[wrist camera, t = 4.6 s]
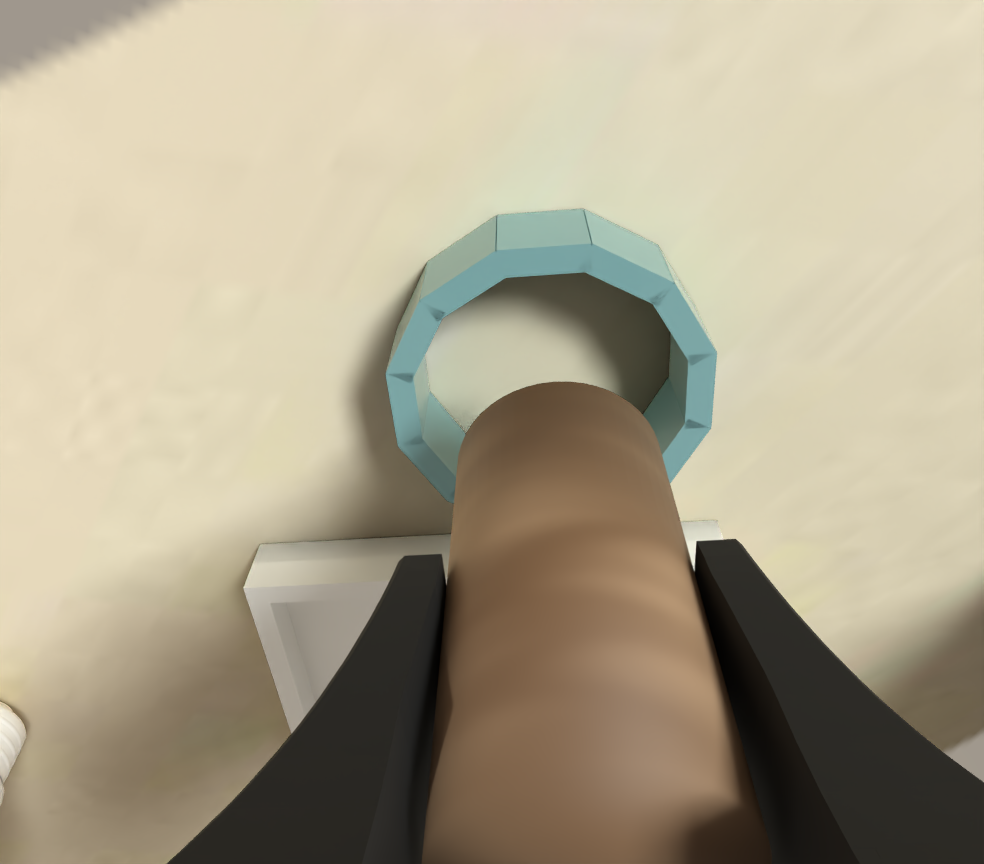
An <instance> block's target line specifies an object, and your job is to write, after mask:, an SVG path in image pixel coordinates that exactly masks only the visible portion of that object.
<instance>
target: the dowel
mask: <svg viewBox="0 0 984 864" xmlns="http://www.w3.org/2000/svg"><path fill="white" fill-rule="evenodd" d="M771 863H772V854H771V848H770V843H769V839H768V836H767V832H766V828H765V825H764V821H763V818H762V814H761V810H760V807H759V803H758V799H757V796H756V792H755V789H754V785H753V781H752V778H751V774H750V771H749V767H748V763H747V760H746V756H745V753H744V749H743V745H742V742H741V738H740V735H739V731H738V727H737V724H736V720H735V717H734V713H733V709H732V706H731V702H730V699H729V695H728V691H727V688H726V684H725V680H724V677H723V673H722V670H721V666H720V662H719V659H718V655H717V652H716V648H715V644H714V641H713V637H712V634H711V630H710V626H709V623H708V619H707V616H706V612H705V608H704V605H703V601H702V598H701V594H700V590H699V587H698V583H697V580H696V576H695V572H694V569H693V565H692V562H691V558H690V554H689V551H688V547H687V543H686V540H685V536H684V533H683V529H682V525H681V522H680V518H679V515H678V511H677V507H676V504H675V500H674V497H673V493H672V489H671V486H670V482H669V479H668V475H667V471H666V468H665V464H664V461H663V457H662V453H661V450H660V446H659V443H658V440H657V437H656V435H655V432H654V430H653V429H652V427H651V425H650V424H649V422H648V421H647V420H646V418H645V417H644V416H643V415H642V413H641V412H640V411H639V410H637V409H636V408H635V407H634V406H633V405H632V404H631V403H629V402H628V401H626V400H625V399H623V398H622V397H620V396H618V395H616V394H614V393H612V392H610V391H608V390H605V389H603V388H600V387H597V386H593V385H589V384H584V383H576V382H549V383H541V384H536V385H532V386H528V387H525V388H522V389H519V390H517V391H514V392H512V393H510V394H508V395H506V396H504V397H502V398H500V399H499V400H497V401H496V402H494V403H493V404H491V405H490V406H489V407H488V408H487V409H486V410H484V411H483V412H482V413H481V414H480V415H479V416H478V418H477V419H476V420H475V421H474V422H473V423H472V425H471V427H470V428H469V430H468V431H467V433H466V435H465V437H464V439H463V441H462V444H461V447H460V451H459V455H458V464H457V474H456V485H455V497H454V508H453V519H452V530H451V541H450V552H449V564H448V575H447V587H446V598H445V609H444V620H443V631H442V642H441V653H440V664H439V675H438V686H437V697H436V709H435V720H434V731H433V742H432V753H431V764H430V776H429V787H428V798H427V809H426V820H425V831H424V843H423V854H422V864H771Z"/></svg>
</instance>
